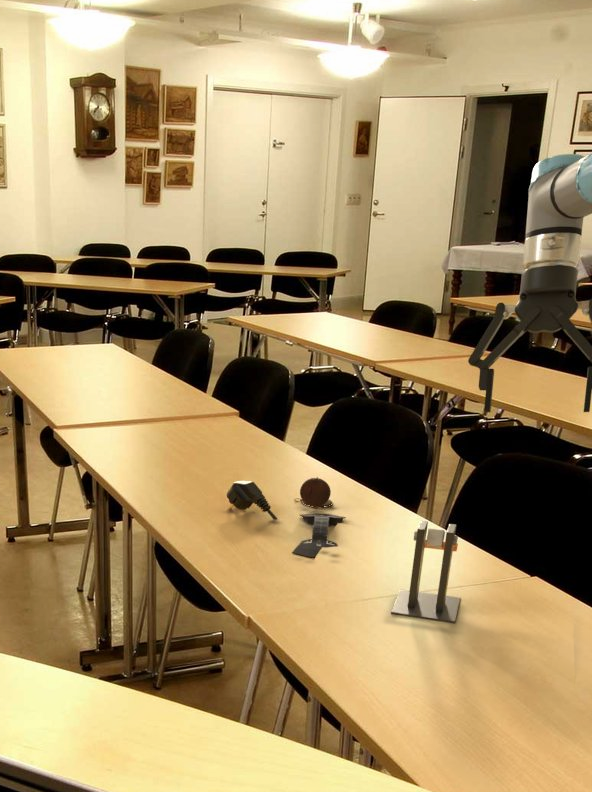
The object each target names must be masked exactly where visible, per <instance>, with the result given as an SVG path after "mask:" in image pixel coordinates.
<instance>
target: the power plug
mask: <svg viewBox="0 0 592 792" xmlns="http://www.w3.org/2000/svg"><path fill="white" fill-rule="evenodd" d="M226 497H227V499H228V502H229V505H228V506H227V510H231V509H233V507H234V508H236V509H238V510H243V511H246V510H248V509H250V508H251V507H252V506H253V504H254V505H256V506H257V507H258V508H259V509H260V510H262V512H264V513H266V512H267V513H268V515H270V517H271V518H272V520H278V517H277V516H276V515H275V514H274V513H273V512H272V510H271V508H272V507H271V505H270V503H269V502H268V500H267V498H266V497H265V495H264V494H263V491H262V490H261V489H260V488H259V486H258V485H257V484H256V482H254V481H252V480H251V481H250V480H249V481H248V480H237V481H235V482H233V483H232V485H231V486H230V488H229V489H228V491H227V492H226Z"/></svg>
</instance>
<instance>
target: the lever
mask: <svg viewBox="0 0 592 792" xmlns="http://www.w3.org/2000/svg"><path fill="white" fill-rule="evenodd" d="M445 537H446V531H445V530H444V529H438V528H427V534H426V541H425V548H424V549H432V550H441V551H444V547H445ZM458 546H459V544H458V542H457V545H453V552H457V551H458Z"/></svg>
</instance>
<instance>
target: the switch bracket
mask: <svg viewBox="0 0 592 792" xmlns="http://www.w3.org/2000/svg"><path fill="white" fill-rule="evenodd" d="M428 524H429V521H426V520H421V521H420V522H419V525H418V527H417V530H415V531H414V533H413V541H415V545H414V554H413V562H412V569H411V577H410V585H409V590H408V589H399V591H398V594H397V596H396V599H395V601H394V604H393V607H392V609H391V612H390V615H395V616H400V617H407V618H408V617H409V618H414V619H421V620H428V621H435V622H440V623H441V622H442V623H448V624H456V619H457V617H458V616H457V615H458V611H459V606H460V602H461V599H462V598H461V597H458V596H450V595H447V592H448V586H449V578H450V572H451V567H452V565H451V564H452V558H453V552H454V551H453V545H457V543H458V541H459V540H458V539H459V536H458V535H456V531H457V524H454V523H449V524H448V527H447V530H446V532H445V539H444V542H445V547H444V550H443V554H442V560H441V561H442V562H441V563H442V564H441V567H440V568H441V569H440V575H439V583H438V590H437V594H436V593H431V592H424V591H423V592H422V591H420V585H421V577H422V571H423V562H424V557H425V556H424V555H425V549H426V548H425V541H426V540H427V534H428V526H429V525H428Z"/></svg>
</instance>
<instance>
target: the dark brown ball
mask: <svg viewBox="0 0 592 792" xmlns="http://www.w3.org/2000/svg"><path fill="white" fill-rule="evenodd" d="M331 493H332V492H331V487H330V485H329V484H328V483H327V481H326V480H324V479H322V478H319V476H317V477H311V478H308V479H307V480H305V481H304V482H303V483H302V484H301V487H300V489H299V495H300V498H299V497H298V498H294V499H293V500H294V502H297V500H299V501H300V502H302V501H303V502H302V504H303V503H304V504H306V505H310V506H313V507H312V508H314V509H318V508H317V507H321V508H320V509H325V508H326V507H324V506H329V505H331V504H332V503H333V502H334V501H333V500H331V499H330V497H331ZM304 504H303V505H304ZM333 504H334V503H333ZM333 504H332V505H331V506H329V507H332V506H333ZM306 505H305V506H306ZM310 506H307V507H308V508H311V507H310ZM329 507H328V508H329Z"/></svg>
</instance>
